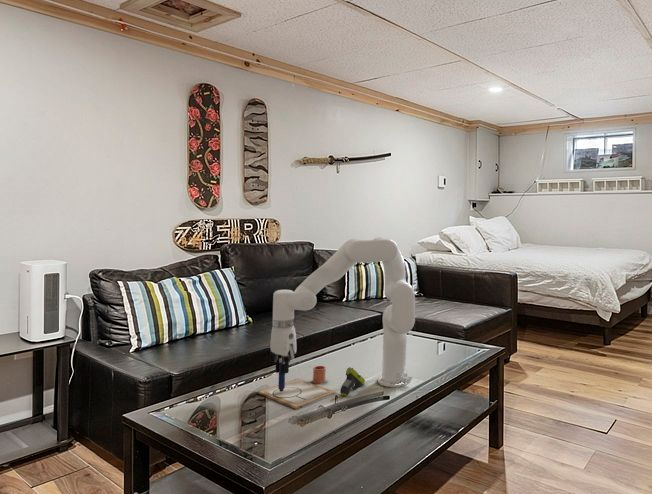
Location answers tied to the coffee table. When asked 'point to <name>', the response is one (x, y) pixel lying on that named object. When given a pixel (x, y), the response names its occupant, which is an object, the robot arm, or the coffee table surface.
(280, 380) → the pen
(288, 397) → the drawing board
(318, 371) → the pen pot
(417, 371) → the coffee table surface
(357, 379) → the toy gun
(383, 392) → the coffee table surface
